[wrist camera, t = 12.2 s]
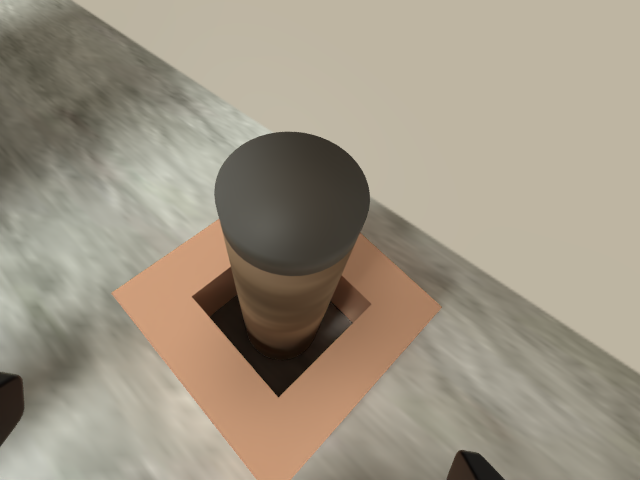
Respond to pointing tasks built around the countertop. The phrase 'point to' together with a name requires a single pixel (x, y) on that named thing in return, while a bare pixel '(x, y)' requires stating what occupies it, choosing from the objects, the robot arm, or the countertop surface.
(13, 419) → the robot arm
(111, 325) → the countertop surface
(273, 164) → the peg
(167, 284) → the socket block
